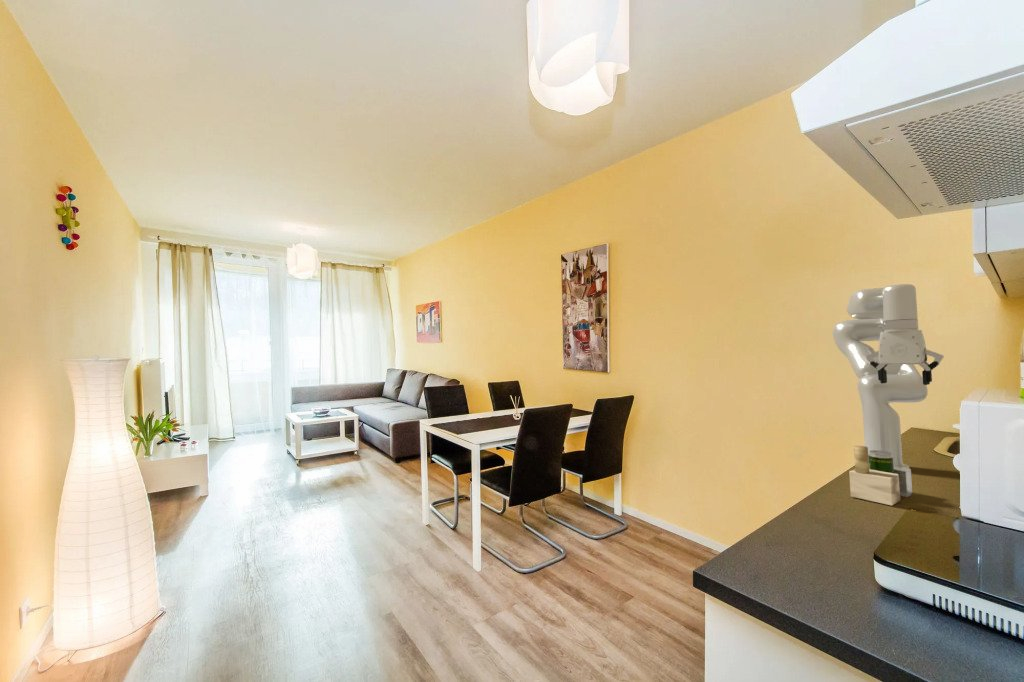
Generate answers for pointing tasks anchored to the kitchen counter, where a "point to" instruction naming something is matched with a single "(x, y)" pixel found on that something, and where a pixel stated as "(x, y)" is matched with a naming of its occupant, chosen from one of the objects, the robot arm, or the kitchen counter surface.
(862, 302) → the robot arm
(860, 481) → the wooden block with peg
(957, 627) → the kitchen counter surface
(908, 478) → the grey box
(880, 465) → the beer can
